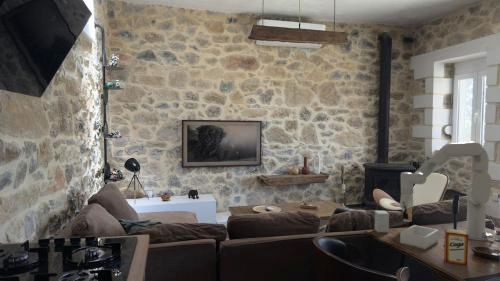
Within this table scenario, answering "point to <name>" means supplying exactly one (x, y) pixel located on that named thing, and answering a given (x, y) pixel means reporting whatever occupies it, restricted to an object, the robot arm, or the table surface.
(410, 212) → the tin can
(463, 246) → the baking soda box
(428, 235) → the tote
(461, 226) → the table surface
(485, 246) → the table surface
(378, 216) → the supplement box
